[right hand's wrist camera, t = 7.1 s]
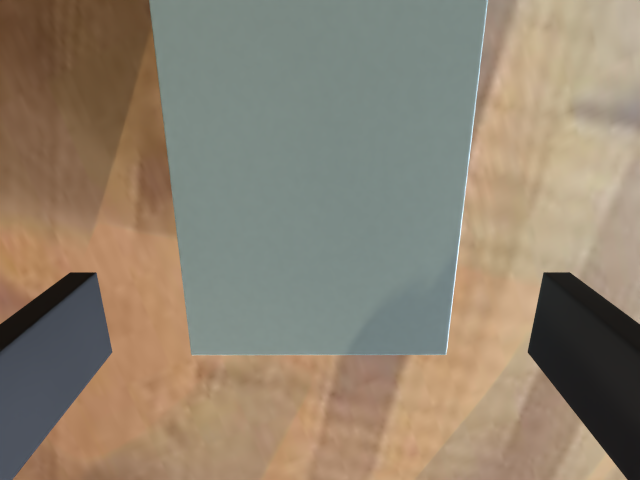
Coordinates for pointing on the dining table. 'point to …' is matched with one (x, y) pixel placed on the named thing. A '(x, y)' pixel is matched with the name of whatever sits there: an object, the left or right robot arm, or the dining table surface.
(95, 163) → the dining table surface
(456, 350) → the dining table surface
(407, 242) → the cabinet
